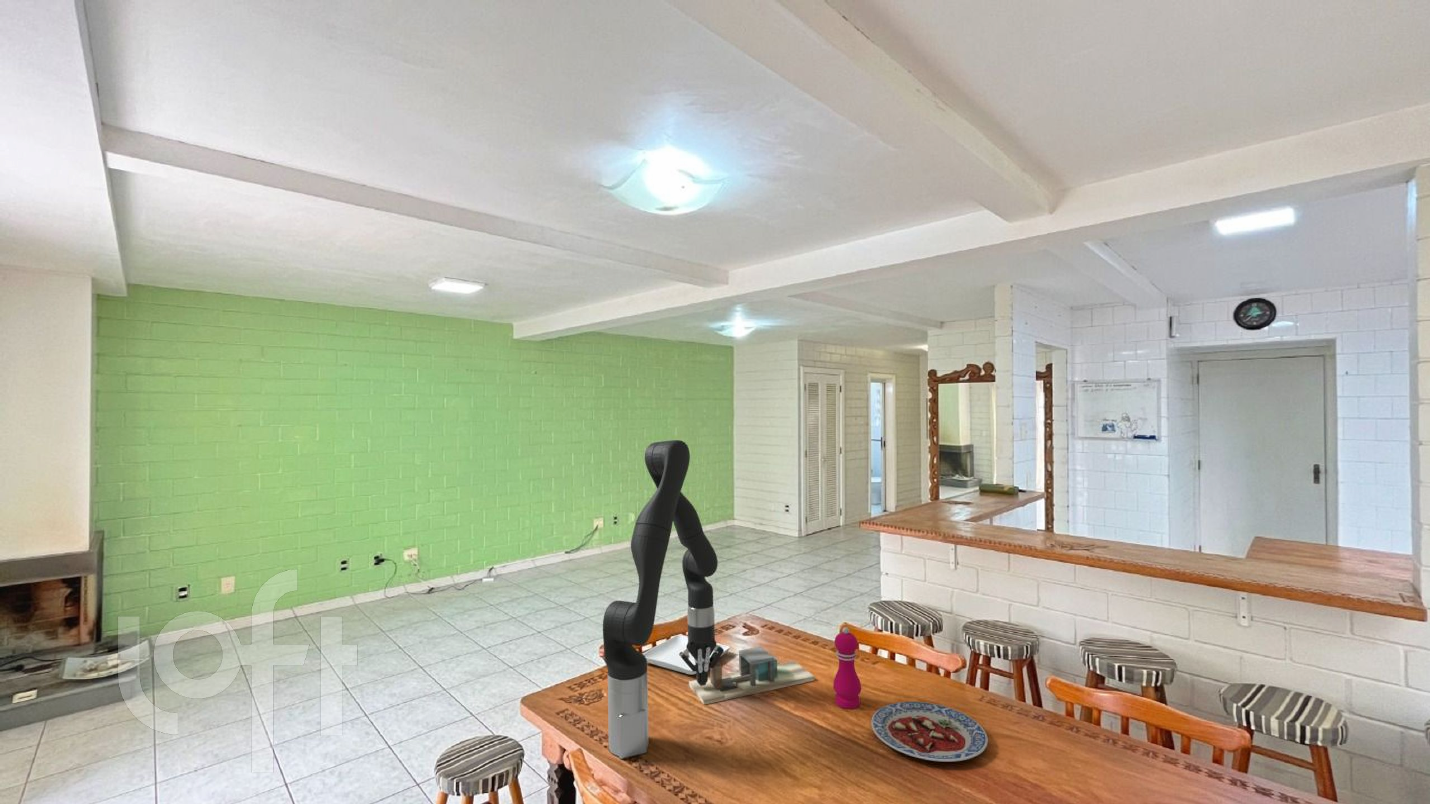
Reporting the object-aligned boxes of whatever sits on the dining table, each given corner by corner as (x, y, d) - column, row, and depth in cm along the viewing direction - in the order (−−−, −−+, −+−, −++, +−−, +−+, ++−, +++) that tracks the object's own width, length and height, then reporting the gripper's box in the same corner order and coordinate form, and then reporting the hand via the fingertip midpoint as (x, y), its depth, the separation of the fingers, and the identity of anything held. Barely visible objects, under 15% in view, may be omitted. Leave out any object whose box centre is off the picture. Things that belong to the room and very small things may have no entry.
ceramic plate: (912, 780, 122) (912, 765, 122) (852, 719, 147) (851, 707, 147) (1014, 758, 129) (1014, 744, 129) (940, 703, 154) (939, 692, 154)
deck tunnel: (814, 680, 168) (813, 652, 168) (703, 704, 155) (703, 674, 156) (793, 664, 179) (792, 638, 179) (689, 685, 166) (688, 657, 167)
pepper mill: (859, 697, 158) (857, 622, 158) (863, 710, 151) (861, 632, 151) (832, 696, 158) (830, 622, 159) (835, 709, 151) (833, 632, 152)
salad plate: (732, 655, 188) (731, 645, 188) (695, 682, 170) (694, 670, 170) (678, 643, 199) (678, 633, 199) (638, 666, 181) (638, 655, 181)
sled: (777, 677, 168) (776, 655, 168) (716, 689, 161) (716, 667, 161) (769, 670, 172) (769, 649, 172) (710, 682, 165) (710, 661, 165)
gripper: (682, 629, 156) (684, 695, 156) (728, 622, 161) (729, 685, 161) (674, 620, 163) (675, 683, 163) (717, 613, 168) (719, 674, 168)
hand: (702, 684), depth 162 cm, fingers closed
